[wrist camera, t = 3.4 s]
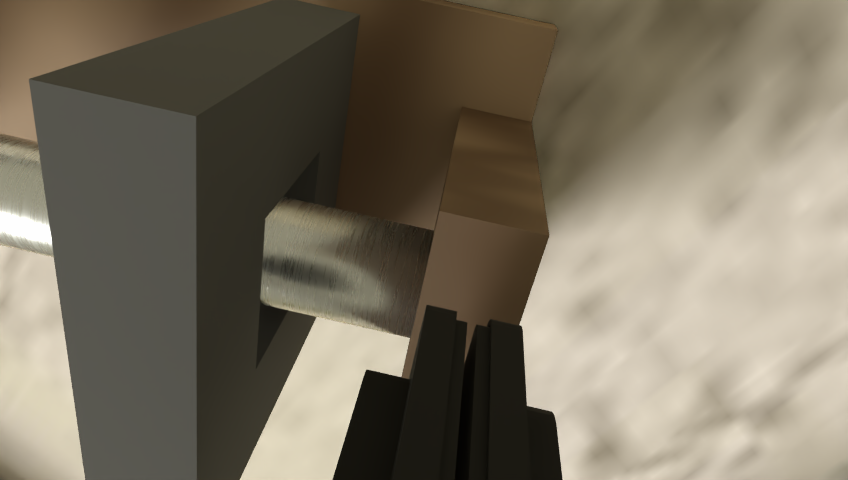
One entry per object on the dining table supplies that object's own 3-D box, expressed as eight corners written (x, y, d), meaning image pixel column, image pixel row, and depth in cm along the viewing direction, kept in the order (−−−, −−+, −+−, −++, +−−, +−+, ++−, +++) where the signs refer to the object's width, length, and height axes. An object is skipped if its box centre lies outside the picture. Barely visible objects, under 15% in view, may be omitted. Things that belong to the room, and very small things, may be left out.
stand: (554, 24, 16) (595, 98, 9) (472, 313, 21) (458, 504, 14) (-181, -137, 16) (-683, -184, 9) (-95, 185, 21) (-384, 311, 14)
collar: (360, 14, 15) (196, 116, 7) (323, 303, 19) (197, 569, 11) (282, -3, 15) (29, 78, 7) (263, 289, 19) (94, 546, 11)
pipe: (462, 203, 13) (454, 267, 11) (437, 304, 15) (424, 382, 12) (-293, 34, 14) (-475, 59, 11) (-247, 149, 15) (-399, 195, 12)
